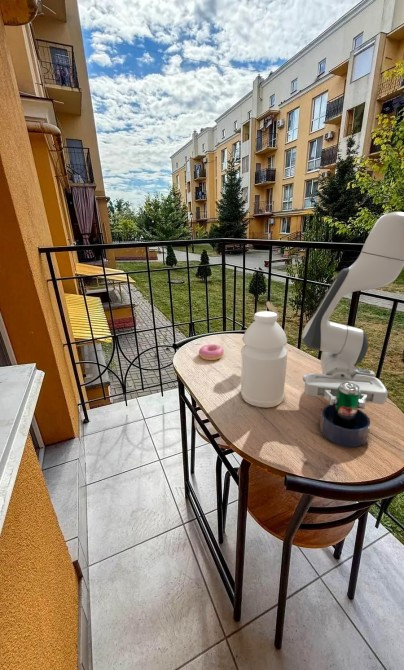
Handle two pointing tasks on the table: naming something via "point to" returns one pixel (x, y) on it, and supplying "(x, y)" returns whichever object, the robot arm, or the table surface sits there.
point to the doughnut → (211, 352)
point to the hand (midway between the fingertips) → (347, 404)
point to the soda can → (346, 405)
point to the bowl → (344, 435)
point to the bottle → (263, 361)
